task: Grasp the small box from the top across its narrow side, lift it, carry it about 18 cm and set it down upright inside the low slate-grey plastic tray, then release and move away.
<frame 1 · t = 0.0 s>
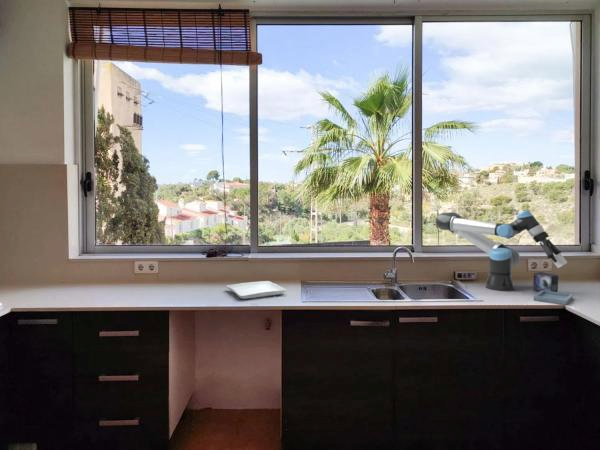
hand: (562, 265, 215), 15 cm above the worktop, tool tilted 35°, fingers open, 13 cm apart
small box: (545, 292, 216), on the worktop
square plate: (255, 293, 217), on the worktop
tray: (553, 299, 200), on the worktop
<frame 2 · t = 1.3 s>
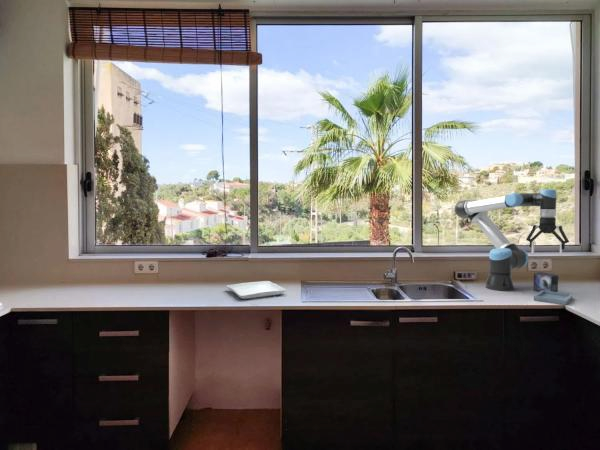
hand: (546, 254, 215), 22 cm above the worktop, tool pointing down, fingers open, 13 cm apart
nothing on the worktop moved.
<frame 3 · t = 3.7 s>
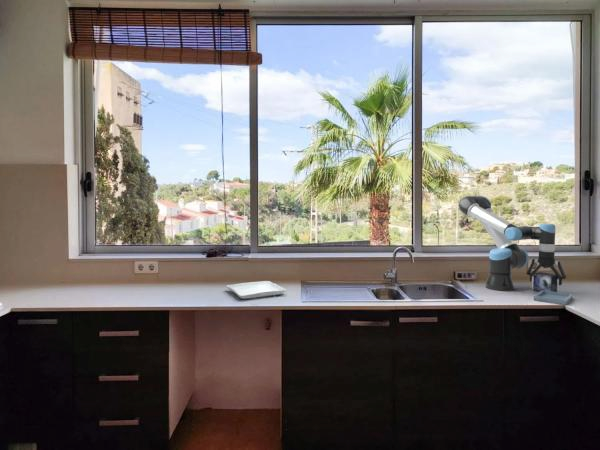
hand: (545, 288, 216), 2 cm above the worktop, tool pointing down, fingers closed on small box, 12 cm apart
small box: (545, 292, 216), on the worktop, touching gripper
everything else where it was.
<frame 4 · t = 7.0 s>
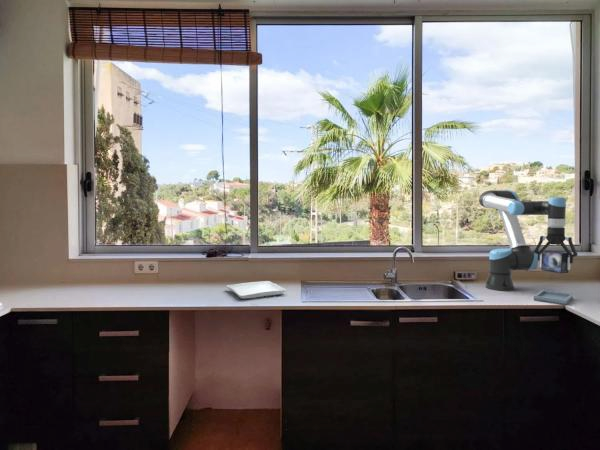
hand: (554, 268, 199), 17 cm above the worktop, tool pointing down, fingers closed on small box, 12 cm apart
small box: (554, 271, 199), point 15 cm above the worktop, touching gripper
everything else where it was.
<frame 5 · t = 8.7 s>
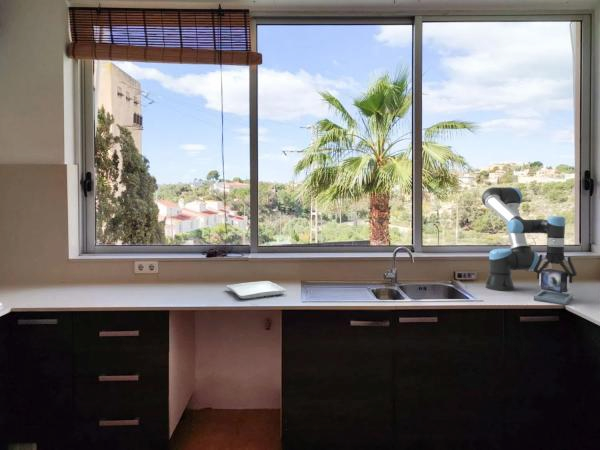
hand: (554, 287, 199), 7 cm above the worktop, tool pointing down, fingers closed on small box, 12 cm apart
small box: (553, 290, 199), point 5 cm above the worktop, touching gripper
everything else where it was.
when the fingers open (4 cm above the worktop, at t = 10.3 s): small box drops 2 cm, resting on tray.
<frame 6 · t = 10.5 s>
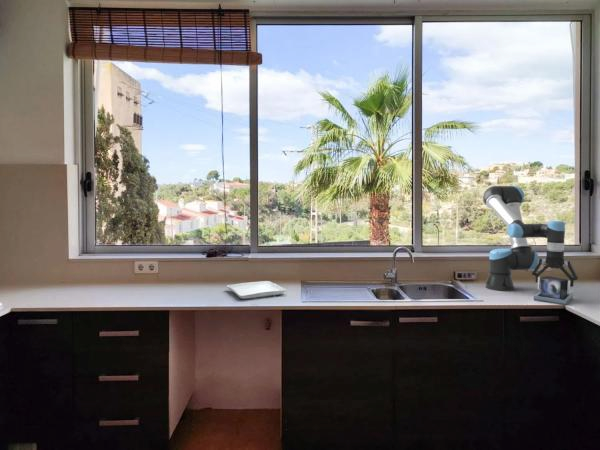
hand: (553, 290, 200), 5 cm above the worktop, tool pointing down, fingers open, 13 cm apart
small box: (553, 298, 200), point 1 cm above the worktop, touching tray
everything else where it was.
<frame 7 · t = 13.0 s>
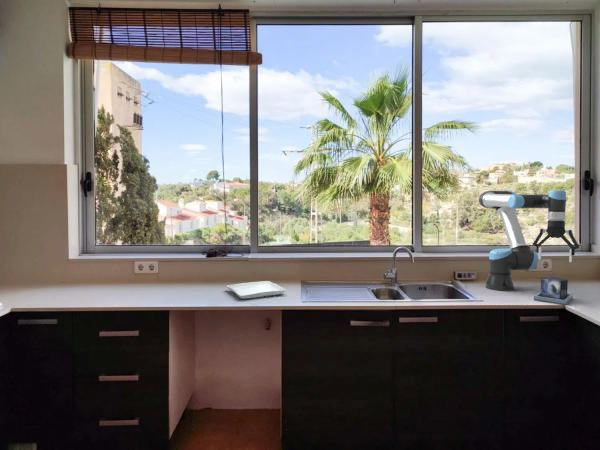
hand: (554, 260, 199), 21 cm above the worktop, tool pointing down, fingers open, 13 cm apart
nothing on the worktop moved.
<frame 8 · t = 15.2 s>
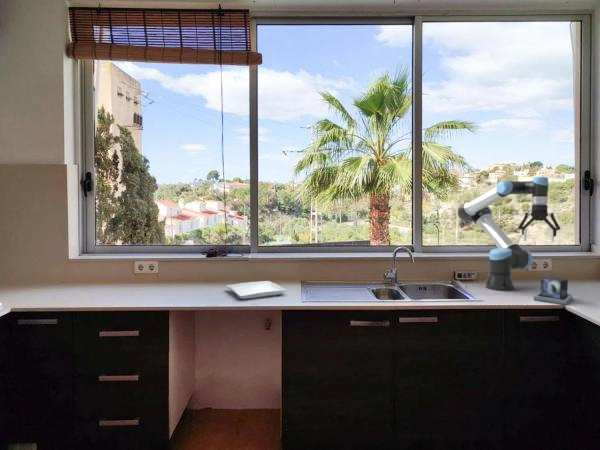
hand: (538, 241, 216), 29 cm above the worktop, tool pointing down, fingers open, 13 cm apart
nothing on the worktop moved.
at the end: small box inside the target area on the tray (0.1 cm from its centre), point 0.6 cm above the tray's base; small box tilted 0°; the gripper is holding nothing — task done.
